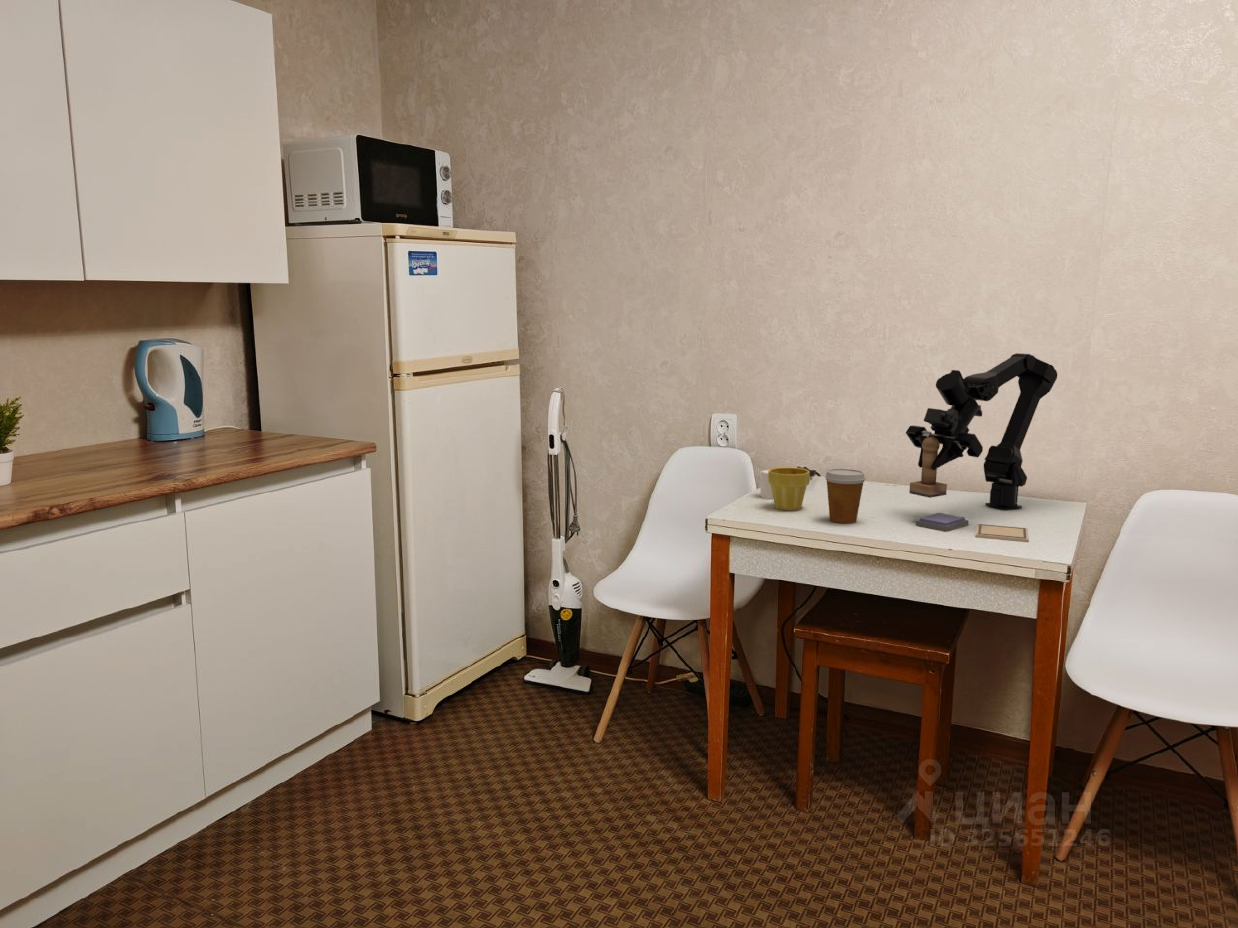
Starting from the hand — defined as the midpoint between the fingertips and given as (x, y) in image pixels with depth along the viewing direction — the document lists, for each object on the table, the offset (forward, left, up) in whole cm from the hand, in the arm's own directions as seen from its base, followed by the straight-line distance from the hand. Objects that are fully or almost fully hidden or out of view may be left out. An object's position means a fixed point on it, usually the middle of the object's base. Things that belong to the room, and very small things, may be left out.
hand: (925, 467), depth 223 cm
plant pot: (+20, -27, -14) cm, 36 cm away
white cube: (+16, -40, -14) cm, 45 cm away
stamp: (-1, 0, -7) cm, 7 cm away
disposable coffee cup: (+16, -10, -14) cm, 23 cm away
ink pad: (-2, +4, -13) cm, 14 cm away
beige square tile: (-9, +16, -13) cm, 23 cm away
